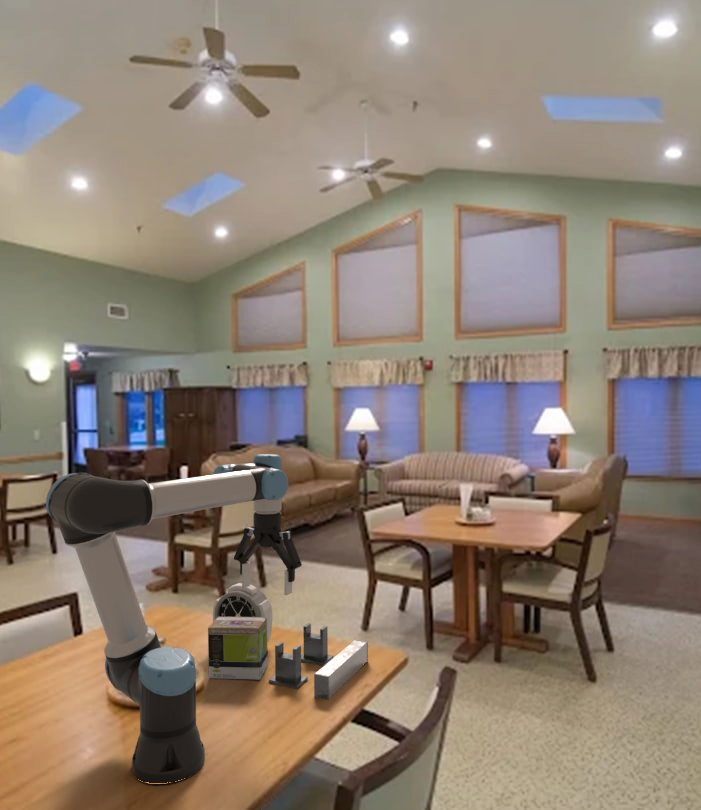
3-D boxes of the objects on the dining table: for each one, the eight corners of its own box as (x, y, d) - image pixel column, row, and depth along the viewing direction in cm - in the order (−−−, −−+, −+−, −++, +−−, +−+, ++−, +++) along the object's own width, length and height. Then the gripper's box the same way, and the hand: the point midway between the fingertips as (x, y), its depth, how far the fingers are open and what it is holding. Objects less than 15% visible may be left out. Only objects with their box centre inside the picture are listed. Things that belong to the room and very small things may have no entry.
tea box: (268, 666, 185) (267, 616, 185) (260, 681, 175) (259, 628, 175) (218, 664, 187) (218, 614, 187) (207, 679, 177) (207, 627, 177)
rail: (328, 699, 164) (327, 676, 164) (314, 696, 166) (314, 673, 166) (367, 661, 188) (367, 641, 188) (355, 659, 190) (355, 639, 189)
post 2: (324, 665, 185) (324, 632, 185) (297, 660, 189) (297, 627, 189) (333, 658, 190) (333, 625, 190) (307, 653, 194) (307, 620, 194)
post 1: (296, 688, 171) (296, 652, 170) (268, 682, 174) (268, 646, 174) (307, 679, 176) (307, 644, 176) (280, 673, 180) (279, 639, 180)
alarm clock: (210, 650, 197) (210, 586, 197) (223, 640, 205) (223, 578, 205) (263, 656, 192) (262, 590, 192) (274, 646, 200) (274, 582, 200)
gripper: (314, 513, 168) (313, 593, 168) (238, 506, 179) (237, 580, 179) (300, 517, 161) (299, 600, 161) (221, 509, 172) (220, 587, 172)
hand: (266, 590), depth 170 cm, fingers open, 13 cm apart
